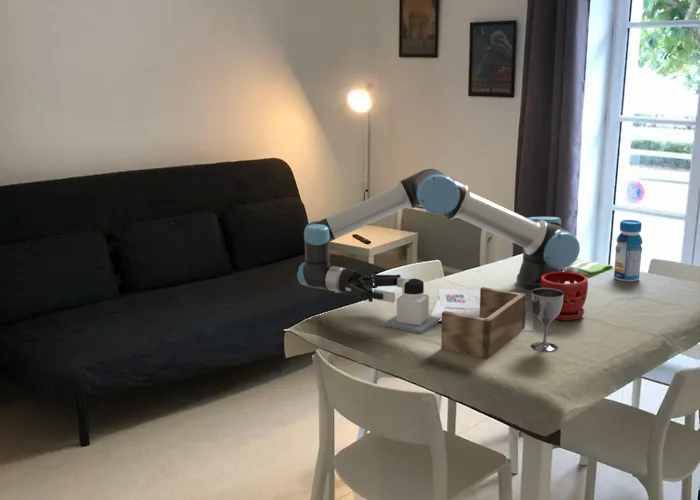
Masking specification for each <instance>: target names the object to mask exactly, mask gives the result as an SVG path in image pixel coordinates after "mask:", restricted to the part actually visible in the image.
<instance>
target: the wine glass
mask: <svg viewBox="0 0 700 500" xmlns="http://www.w3.org/2000/svg"><path fill="white" fill-rule="evenodd" d="M530 296H531V297H530V299H531V300H530V301H531V302H530V303H531V308H532V312H533V314H534V316H535V317H536V318H537V319H538V320H539V321H540V323H541V327H542V329H543V338H542V339H543V340H542V341H537V342H532V343H531V344H530V349H532V350H534V351H537V352H541V351H542V353H552V352H556V351H558V350H559V346H558V345H557V344H555V343H553V342H548V341H547V336H548V331H549V326H550V325H551V323H552V322H553V321H555V320H556V319H555V318H556V317H557V316H558V315H559V314H560V311H561V308H562V304H563V292H562V291H560V290H557V289H553V288H537V289H534V290H531V294H530Z"/></svg>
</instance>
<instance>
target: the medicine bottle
mask: <svg viewBox="0 0 700 500" xmlns="http://www.w3.org/2000/svg"><path fill="white" fill-rule="evenodd" d="M406 279H407V280H404V281H403V282H402V289H401V293H402V294H401V295H400V296H399V297H398V298H397V299H396V316H397V322H399V323H406V324H412V325H421V324H422V323H423V322H424V321H425V320H427V319H428V316H430V314H429V312H430V311H429V308H430V307H429V305H430V301H429V300H430V296H429V294H424V291H425V290H424V289H425V288H424V287H425V285H424V284H425V283H424V281H423V280H421V279H418V278H406Z"/></svg>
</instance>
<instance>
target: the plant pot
mask: <svg viewBox="0 0 700 500" xmlns="http://www.w3.org/2000/svg"><path fill="white" fill-rule="evenodd" d="M588 280H589V279H588V277H586V276H584V275H582V274H579V273H574V272H563V271H561V272H551V273H547V274H544V275H543V276H542V277H541V288H553V289H557V290H560V291H562V292H563V304H562V308H561V311H560V314H559V315H558V316H557V317H556V318H555V319H554V320H559V321H573V320H577V319H580V318H582V316H583V315H584V314H585V311H586V310H585V309H584V308H583V307H584V305H585V303H586V299H587V295H588V289H589V288H588V287H589V281H588ZM557 281H560V283H556V282H557ZM566 282H569V283H566Z"/></svg>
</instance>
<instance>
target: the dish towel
mask: <svg viewBox="0 0 700 500" xmlns="http://www.w3.org/2000/svg"><path fill="white" fill-rule="evenodd" d="M611 269H613V266H612V265H611V264H604V263H600V262H596V261H595V262H594V261H589V260H585V259H580V258H577V259H576V261H575V262H574V263H573V264H572V265H570V266H568V267H566V268H563V269H560V270H561V271H564V272H574V273H579V274H582V275H584V276H586V277H587V278H590V277H593V276H596V275H599V274H601V273H603V272H607V271H610V270H611Z"/></svg>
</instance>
